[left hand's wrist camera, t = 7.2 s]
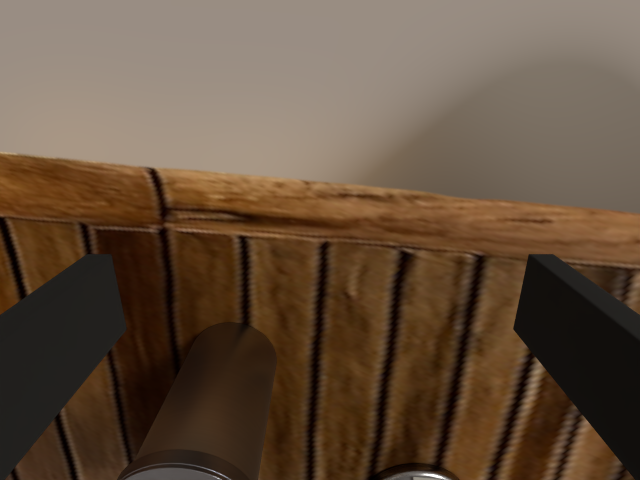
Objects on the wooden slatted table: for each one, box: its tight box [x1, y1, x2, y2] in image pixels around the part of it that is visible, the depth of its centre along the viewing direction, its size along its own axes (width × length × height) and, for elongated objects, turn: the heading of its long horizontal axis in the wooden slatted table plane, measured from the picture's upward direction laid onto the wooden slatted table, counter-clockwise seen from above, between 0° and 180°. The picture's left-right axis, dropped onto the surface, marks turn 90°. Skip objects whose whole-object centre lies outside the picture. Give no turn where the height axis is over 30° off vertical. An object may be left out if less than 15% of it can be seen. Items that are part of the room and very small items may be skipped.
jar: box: [134, 323, 276, 480], centre depth 39 cm, size 10×10×19 cm
